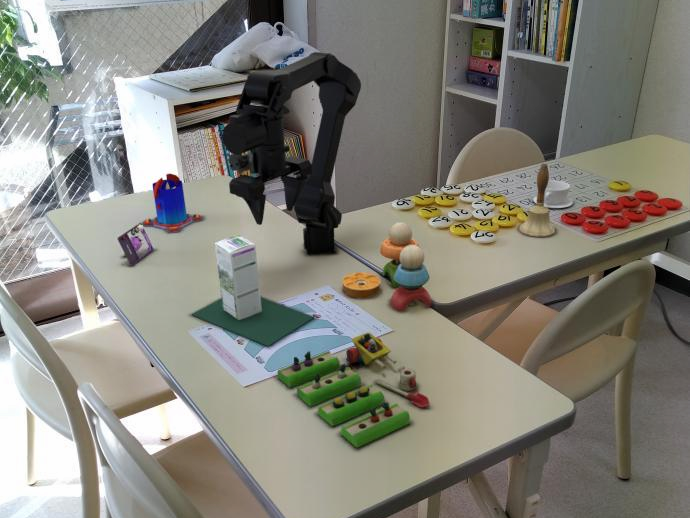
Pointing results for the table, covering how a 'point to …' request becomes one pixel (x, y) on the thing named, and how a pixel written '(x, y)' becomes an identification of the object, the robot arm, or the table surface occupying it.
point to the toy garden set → (354, 401)
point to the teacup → (556, 195)
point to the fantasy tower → (170, 205)
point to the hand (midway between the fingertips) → (274, 217)
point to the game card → (134, 244)
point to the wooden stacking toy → (395, 271)
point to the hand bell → (539, 210)
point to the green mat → (257, 321)
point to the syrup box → (238, 277)
